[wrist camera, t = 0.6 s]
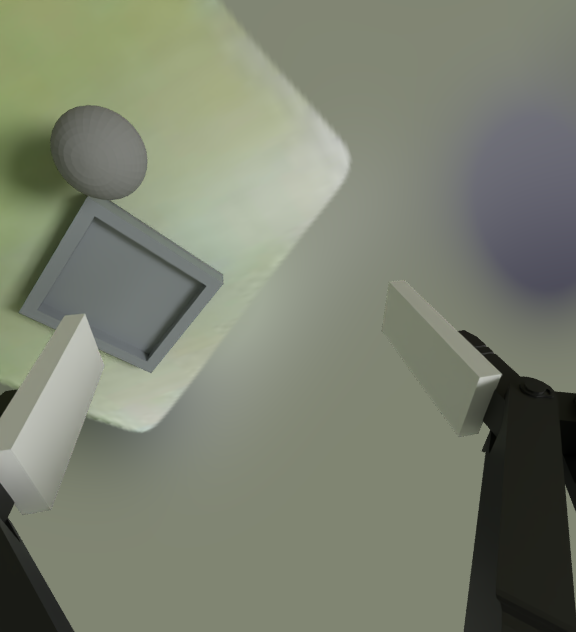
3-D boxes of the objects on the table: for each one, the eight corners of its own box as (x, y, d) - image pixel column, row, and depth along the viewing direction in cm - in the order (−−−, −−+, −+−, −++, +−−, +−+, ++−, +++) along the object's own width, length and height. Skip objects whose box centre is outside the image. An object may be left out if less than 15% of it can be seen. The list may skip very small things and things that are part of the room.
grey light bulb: (115, 191, 33) (81, 224, 25) (67, 124, 30) (10, 135, 21) (172, 161, 32) (158, 184, 24) (131, 89, 29) (97, 87, 21)
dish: (28, 301, 37) (18, 312, 35) (94, 190, 33) (87, 196, 31) (153, 361, 43) (151, 373, 41) (222, 274, 39) (223, 283, 37)
